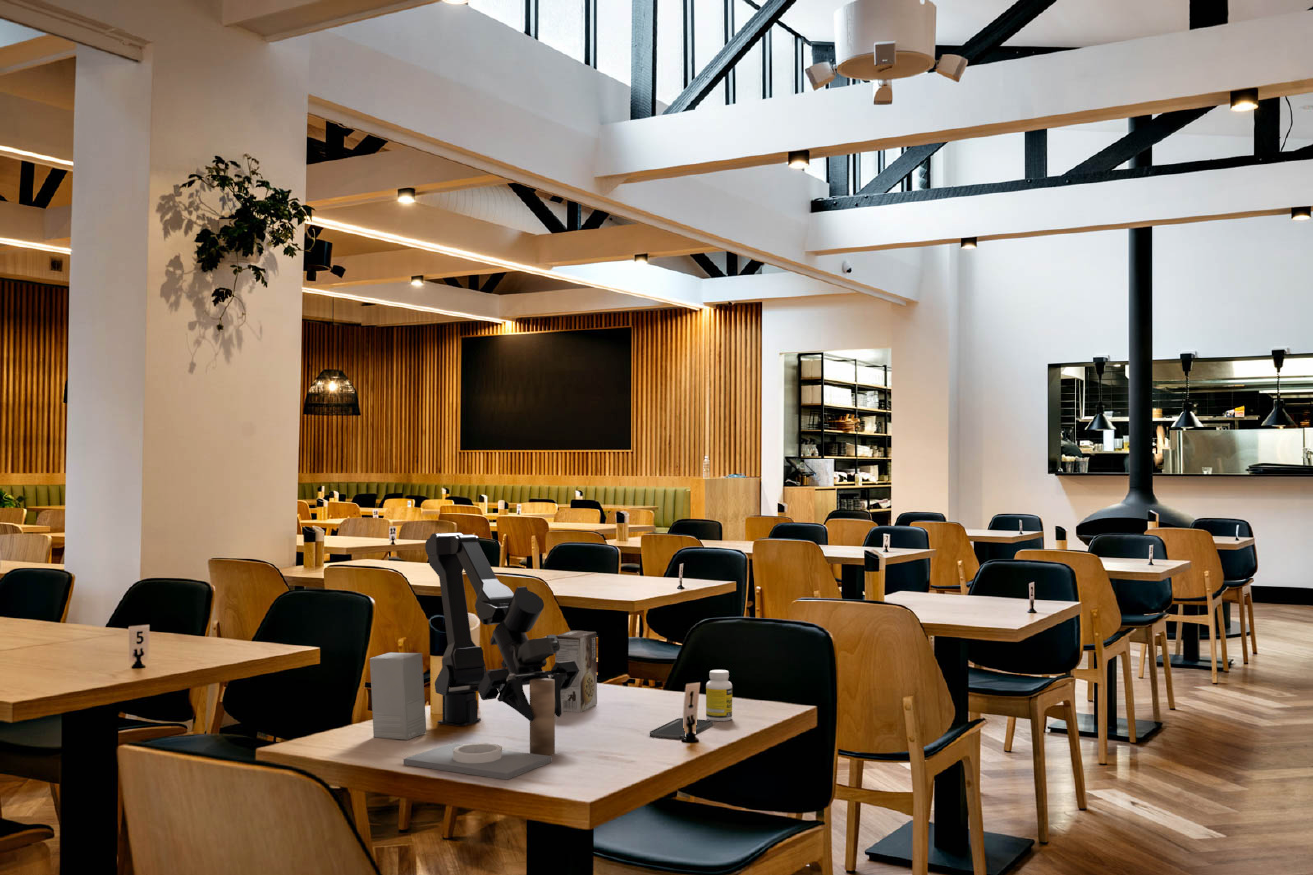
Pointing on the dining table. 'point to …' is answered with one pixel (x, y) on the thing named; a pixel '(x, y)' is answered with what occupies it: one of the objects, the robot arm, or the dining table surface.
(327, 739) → the dining table surface
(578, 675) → the coffee box
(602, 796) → the dining table surface
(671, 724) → the phone
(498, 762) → the board
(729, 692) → the supplement bottle
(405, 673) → the skincare box
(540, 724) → the walnut pin
